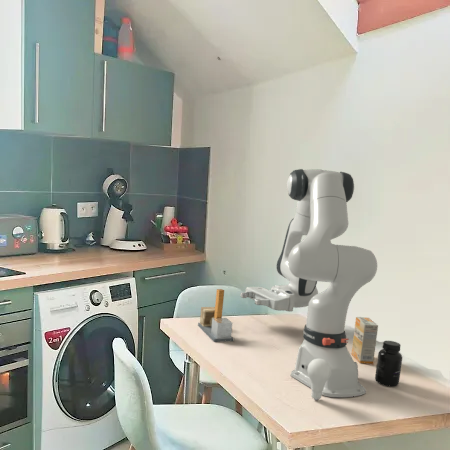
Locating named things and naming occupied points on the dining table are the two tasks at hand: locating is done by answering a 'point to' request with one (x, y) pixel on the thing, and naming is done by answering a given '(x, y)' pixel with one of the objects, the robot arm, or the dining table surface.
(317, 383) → the lightbulb
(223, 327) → the matte gray cube
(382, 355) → the supplement bottle
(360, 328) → the supplement box
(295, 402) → the dining table surface
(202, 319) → the socket block
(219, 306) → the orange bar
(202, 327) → the slate board
